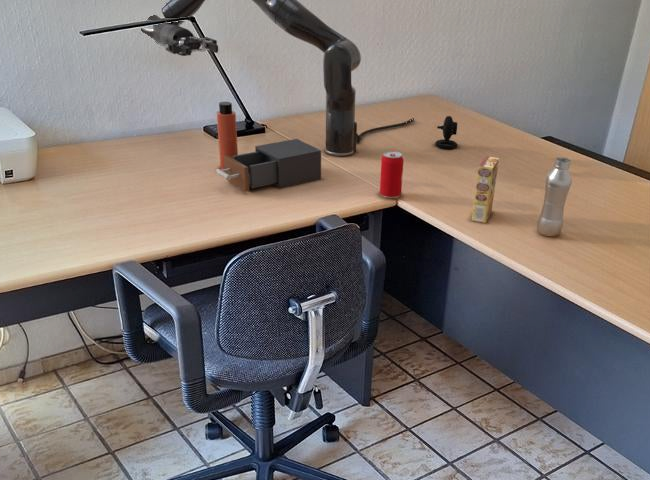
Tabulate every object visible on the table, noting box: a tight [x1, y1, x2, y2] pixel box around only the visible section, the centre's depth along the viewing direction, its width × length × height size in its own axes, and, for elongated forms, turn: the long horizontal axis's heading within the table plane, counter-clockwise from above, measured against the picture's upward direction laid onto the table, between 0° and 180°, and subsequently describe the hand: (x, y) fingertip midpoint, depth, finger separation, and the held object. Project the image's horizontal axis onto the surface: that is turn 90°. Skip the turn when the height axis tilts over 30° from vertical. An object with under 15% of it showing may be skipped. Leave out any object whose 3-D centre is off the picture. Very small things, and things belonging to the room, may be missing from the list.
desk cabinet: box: [254, 138, 322, 189], centre depth 212 cm, size 15×13×9 cm
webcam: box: [435, 115, 458, 150], centre depth 244 cm, size 8×8×10 cm
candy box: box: [471, 155, 500, 224], centre depth 194 cm, size 9×4×15 cm, turn 163°
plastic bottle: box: [536, 156, 573, 237], centre depth 186 cm, size 6×7×20 cm
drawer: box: [215, 151, 278, 193], centre depth 205 cm, size 18×11×7 cm, turn 130°
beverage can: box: [379, 150, 405, 199], centre depth 204 cm, size 6×6×12 cm
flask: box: [215, 101, 239, 170], centre depth 212 cm, size 5×5×19 cm
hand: (203, 50), depth 206 cm, fingers open, 8 cm apart
